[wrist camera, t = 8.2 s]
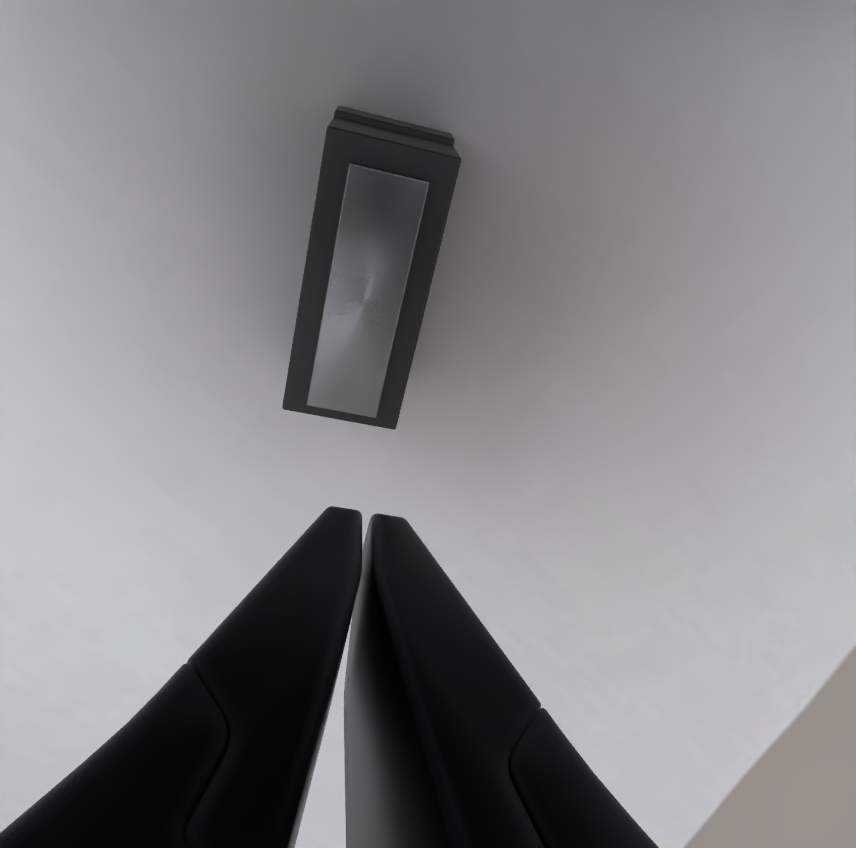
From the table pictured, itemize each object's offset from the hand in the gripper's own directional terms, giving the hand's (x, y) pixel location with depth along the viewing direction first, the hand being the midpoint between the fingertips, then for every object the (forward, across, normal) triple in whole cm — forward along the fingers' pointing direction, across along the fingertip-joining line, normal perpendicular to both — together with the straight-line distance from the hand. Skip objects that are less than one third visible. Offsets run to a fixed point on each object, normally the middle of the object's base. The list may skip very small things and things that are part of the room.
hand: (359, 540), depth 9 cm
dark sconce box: (+13, 0, 0) cm, 13 cm away
